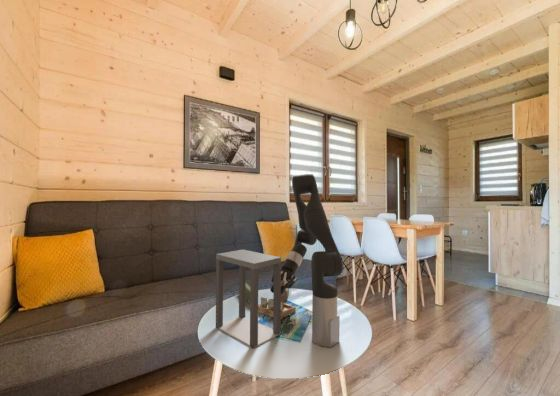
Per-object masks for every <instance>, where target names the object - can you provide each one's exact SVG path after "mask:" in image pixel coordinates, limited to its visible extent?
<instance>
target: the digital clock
mask: <svg viewBox="0 0 560 396" xmlns="http://www.w3.org/2000/svg"><path fill="white" fill-rule="evenodd" d="M289 295H290V289H289V288H287V289H285V291H284V301H288V299H289Z"/></svg>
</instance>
